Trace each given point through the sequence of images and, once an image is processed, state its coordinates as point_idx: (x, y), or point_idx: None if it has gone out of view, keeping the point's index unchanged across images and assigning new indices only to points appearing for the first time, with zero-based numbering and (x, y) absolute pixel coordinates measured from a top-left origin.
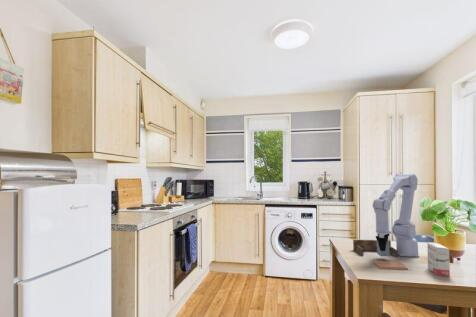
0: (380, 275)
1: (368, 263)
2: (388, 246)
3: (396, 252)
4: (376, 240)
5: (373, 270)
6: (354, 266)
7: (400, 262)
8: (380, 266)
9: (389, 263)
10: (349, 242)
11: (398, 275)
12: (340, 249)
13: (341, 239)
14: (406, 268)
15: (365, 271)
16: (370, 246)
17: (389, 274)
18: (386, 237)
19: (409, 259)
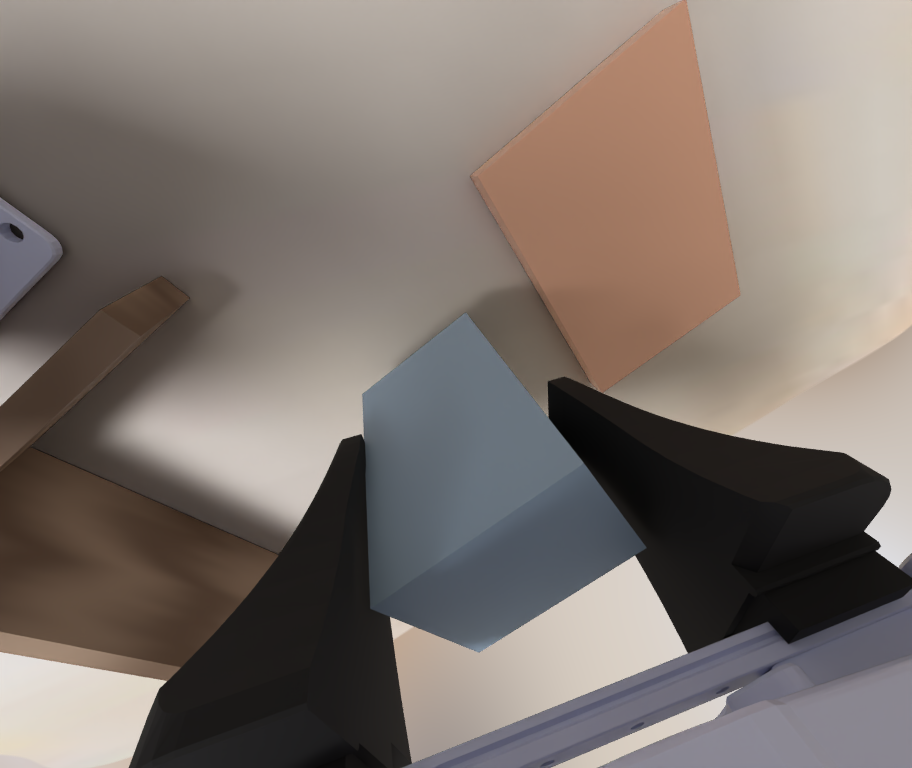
0: (869, 239)
1: (626, 400)
2: (524, 388)
3: (137, 304)
4: (88, 652)
5: (773, 315)
6: (725, 428)
7: (509, 151)
8: (739, 294)
9: (618, 256)
10: (136, 709)
11: (860, 96)
12: (408, 627)
13: (115, 759)
14: (680, 29)
15: (803, 346)
16: (220, 583)
17: (843, 183)
18: (343, 607)
19: (82, 66)
